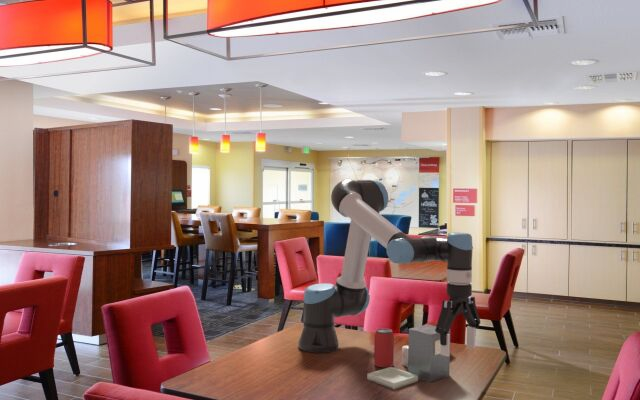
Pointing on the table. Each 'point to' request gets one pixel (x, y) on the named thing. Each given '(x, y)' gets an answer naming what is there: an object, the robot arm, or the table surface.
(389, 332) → the beer can
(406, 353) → the white egg
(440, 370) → the box
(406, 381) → the tray
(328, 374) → the table surface
